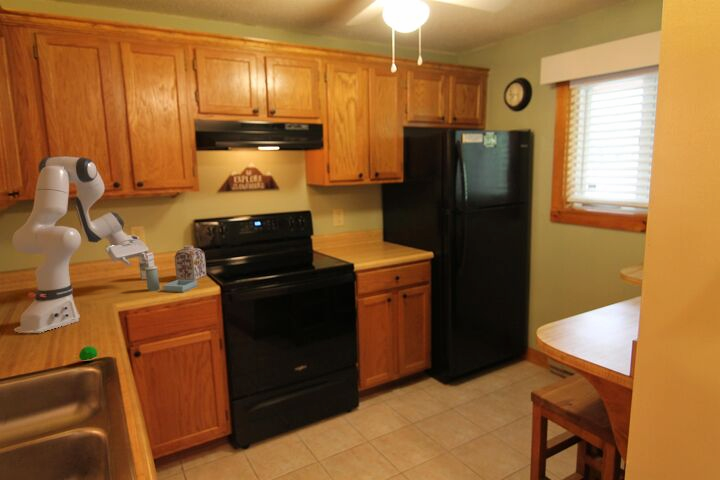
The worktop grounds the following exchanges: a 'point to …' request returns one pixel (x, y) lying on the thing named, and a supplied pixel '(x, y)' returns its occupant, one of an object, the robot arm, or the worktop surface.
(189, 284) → the dish
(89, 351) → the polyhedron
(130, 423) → the worktop surface
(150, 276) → the tea tin
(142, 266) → the syrup box
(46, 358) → the worktop surface
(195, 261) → the decorative jar
